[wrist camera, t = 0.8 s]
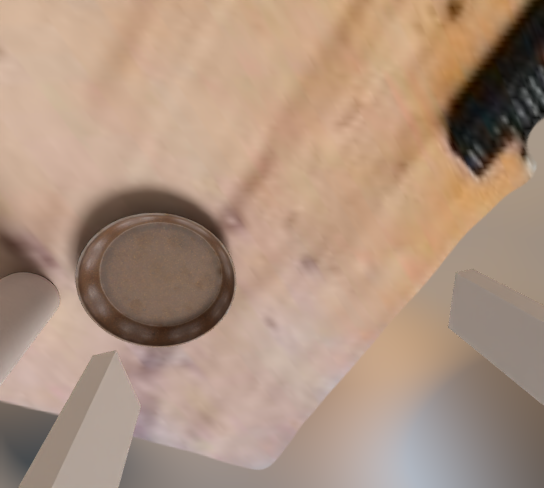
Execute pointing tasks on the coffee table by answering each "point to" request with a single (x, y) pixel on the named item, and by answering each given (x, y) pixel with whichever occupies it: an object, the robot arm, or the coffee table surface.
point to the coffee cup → (23, 315)
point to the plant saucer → (155, 279)
